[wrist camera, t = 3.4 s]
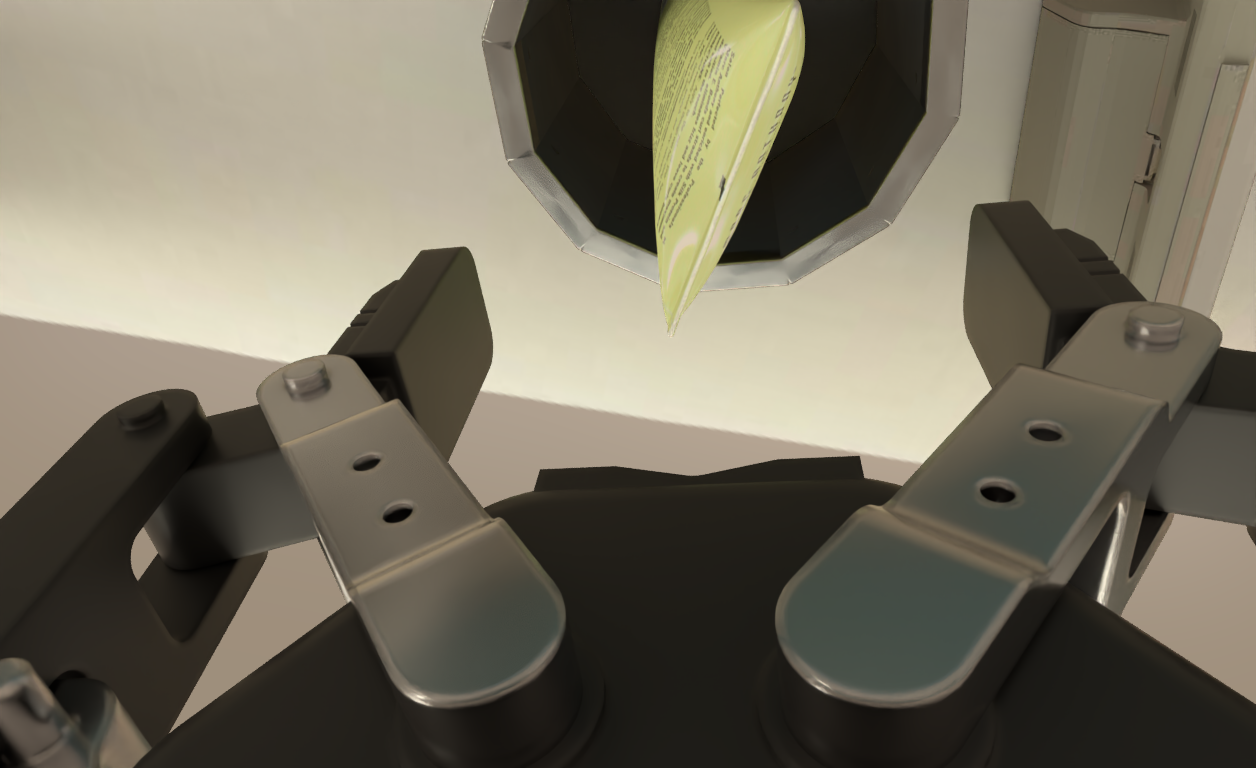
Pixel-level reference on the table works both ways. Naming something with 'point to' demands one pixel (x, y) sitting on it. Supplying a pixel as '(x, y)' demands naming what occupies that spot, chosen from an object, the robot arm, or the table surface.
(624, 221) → the pail
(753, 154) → the yellow elongated tapered cylinder
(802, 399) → the table surface
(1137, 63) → the digital clock
